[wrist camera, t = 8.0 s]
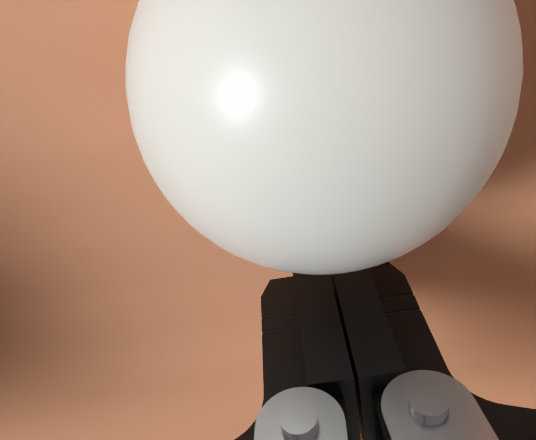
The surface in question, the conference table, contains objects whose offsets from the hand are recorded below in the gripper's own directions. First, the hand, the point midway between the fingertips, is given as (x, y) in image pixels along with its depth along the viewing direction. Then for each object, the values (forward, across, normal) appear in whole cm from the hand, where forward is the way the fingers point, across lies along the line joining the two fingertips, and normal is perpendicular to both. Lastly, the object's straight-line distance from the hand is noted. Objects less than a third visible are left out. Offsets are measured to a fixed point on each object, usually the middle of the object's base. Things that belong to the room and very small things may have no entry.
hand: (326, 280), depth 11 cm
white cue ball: (-1, 0, -5) cm, 5 cm away
